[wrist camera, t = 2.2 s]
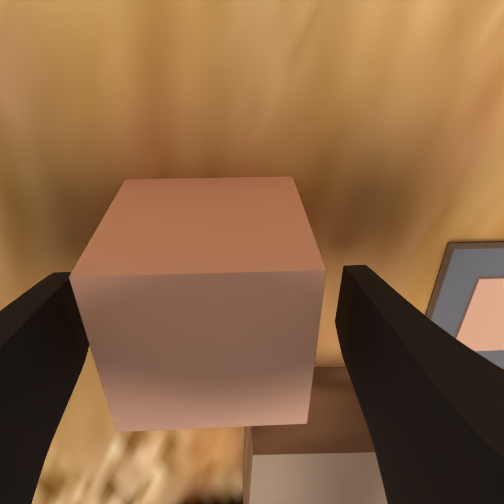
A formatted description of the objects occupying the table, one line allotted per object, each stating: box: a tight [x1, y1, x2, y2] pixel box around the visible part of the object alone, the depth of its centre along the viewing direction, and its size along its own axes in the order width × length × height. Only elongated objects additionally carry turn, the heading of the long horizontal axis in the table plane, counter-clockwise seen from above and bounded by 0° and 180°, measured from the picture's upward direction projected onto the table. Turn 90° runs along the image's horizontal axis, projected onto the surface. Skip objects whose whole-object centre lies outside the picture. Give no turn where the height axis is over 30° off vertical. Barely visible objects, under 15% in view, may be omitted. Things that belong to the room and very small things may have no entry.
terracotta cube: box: [69, 176, 326, 432], centre depth 11 cm, size 5×5×5 cm
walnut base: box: [243, 367, 388, 504], centre depth 17 cm, size 8×8×4 cm
